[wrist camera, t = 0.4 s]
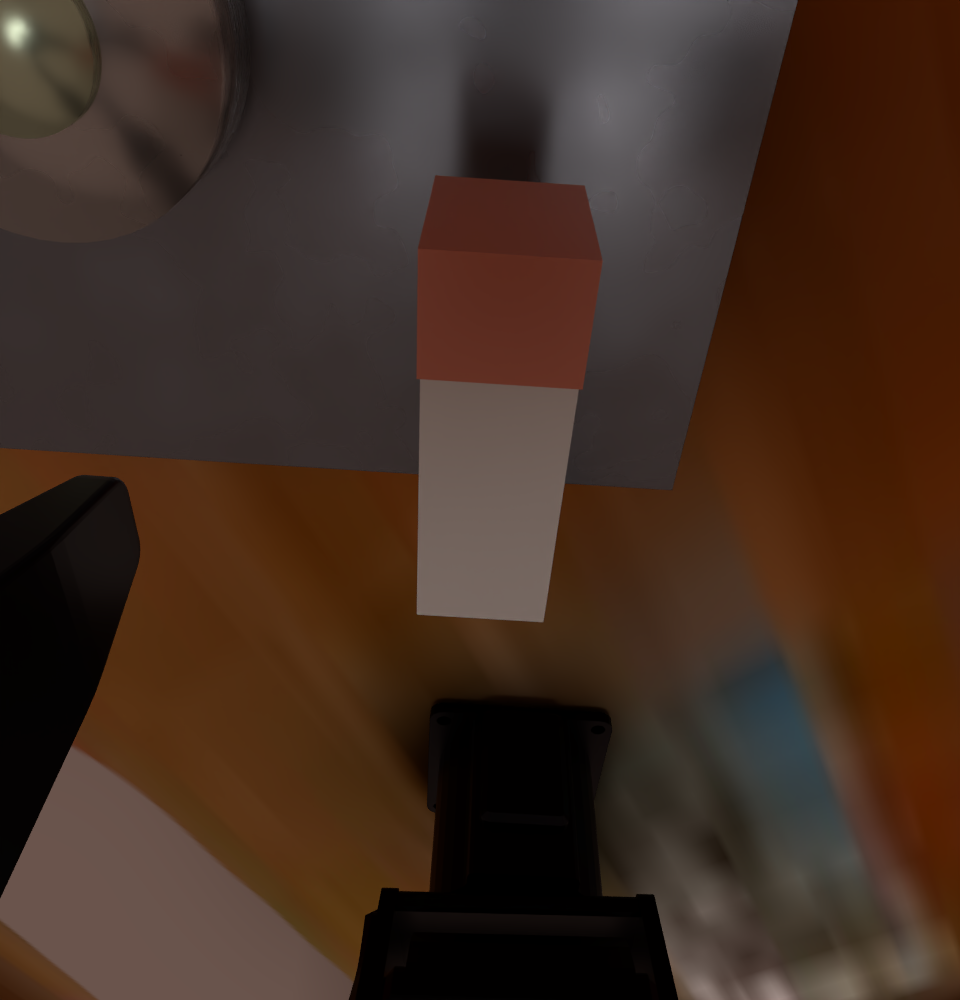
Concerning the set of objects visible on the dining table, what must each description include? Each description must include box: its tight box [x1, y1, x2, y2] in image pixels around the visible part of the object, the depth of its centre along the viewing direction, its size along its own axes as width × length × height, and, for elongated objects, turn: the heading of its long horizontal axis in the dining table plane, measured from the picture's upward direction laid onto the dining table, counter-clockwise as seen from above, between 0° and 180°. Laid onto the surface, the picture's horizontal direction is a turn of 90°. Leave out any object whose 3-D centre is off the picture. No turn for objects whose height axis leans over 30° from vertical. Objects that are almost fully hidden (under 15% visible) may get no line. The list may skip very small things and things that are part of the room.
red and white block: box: [416, 175, 603, 622], centre depth 16 cm, size 7×2×6 cm, turn 177°
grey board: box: [0, 0, 798, 490], centre depth 15 cm, size 20×27×4 cm
